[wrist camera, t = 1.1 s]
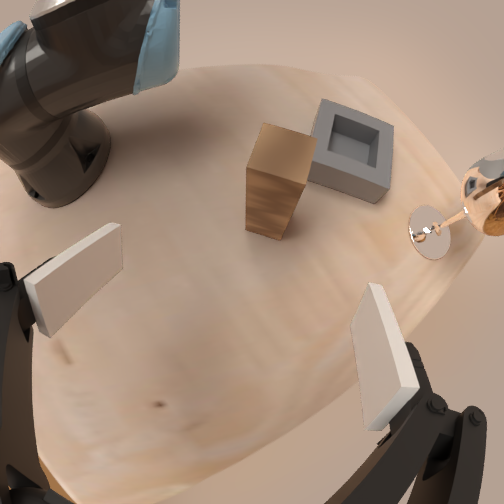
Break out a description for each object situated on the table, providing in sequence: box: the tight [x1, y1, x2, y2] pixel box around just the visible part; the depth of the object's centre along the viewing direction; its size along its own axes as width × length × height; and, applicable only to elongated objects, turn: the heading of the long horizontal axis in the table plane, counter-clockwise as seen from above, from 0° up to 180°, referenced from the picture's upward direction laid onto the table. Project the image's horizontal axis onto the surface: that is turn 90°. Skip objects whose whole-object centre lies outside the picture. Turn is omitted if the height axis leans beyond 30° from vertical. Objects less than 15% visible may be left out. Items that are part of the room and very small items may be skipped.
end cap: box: [307, 99, 394, 204], centre depth 32 cm, size 10×10×4 cm
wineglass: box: [409, 148, 504, 260], centre depth 23 cm, size 8×8×20 cm
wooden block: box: [245, 123, 317, 241], centre depth 25 cm, size 4×4×14 cm
